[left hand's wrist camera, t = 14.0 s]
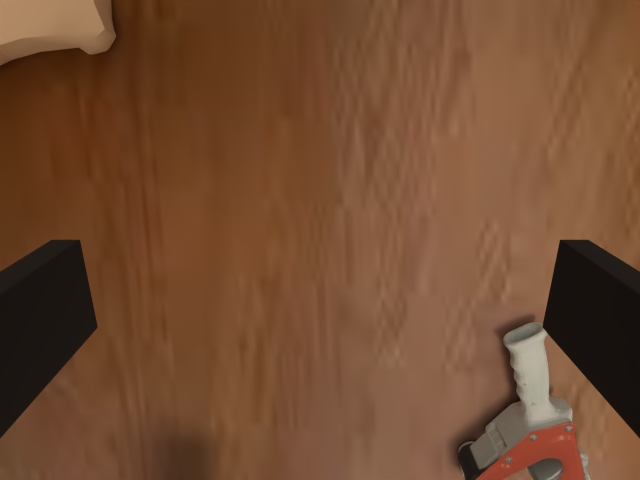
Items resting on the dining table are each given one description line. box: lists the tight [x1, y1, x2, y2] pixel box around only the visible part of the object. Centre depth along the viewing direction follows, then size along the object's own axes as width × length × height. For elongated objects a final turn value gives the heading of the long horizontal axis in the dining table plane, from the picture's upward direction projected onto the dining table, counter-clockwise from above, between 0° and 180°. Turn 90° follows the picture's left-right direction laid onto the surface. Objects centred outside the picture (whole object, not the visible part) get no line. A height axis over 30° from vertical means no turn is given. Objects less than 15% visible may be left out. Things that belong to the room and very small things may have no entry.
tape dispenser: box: [458, 322, 591, 480], centre depth 46 cm, size 18×5×20 cm
